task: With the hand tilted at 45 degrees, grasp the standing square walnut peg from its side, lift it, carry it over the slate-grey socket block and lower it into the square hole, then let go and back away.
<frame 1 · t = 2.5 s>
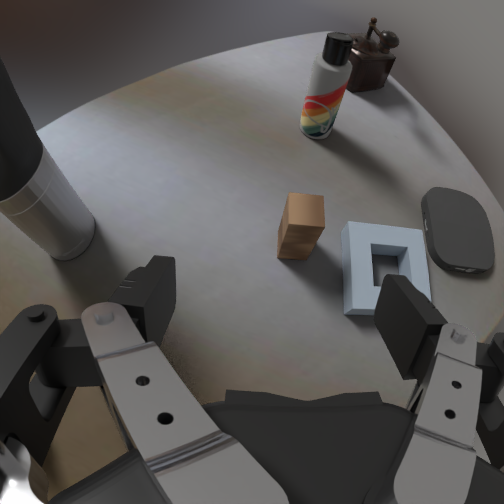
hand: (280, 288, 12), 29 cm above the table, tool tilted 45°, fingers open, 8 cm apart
lotion bottle: (314, 129, 53), on the table
socket: (381, 274, 43), on the table
manual coffee grinder: (359, 84, 60), on the table
media streaming box: (455, 233, 47), on the table
peg: (292, 245, 44), on the table
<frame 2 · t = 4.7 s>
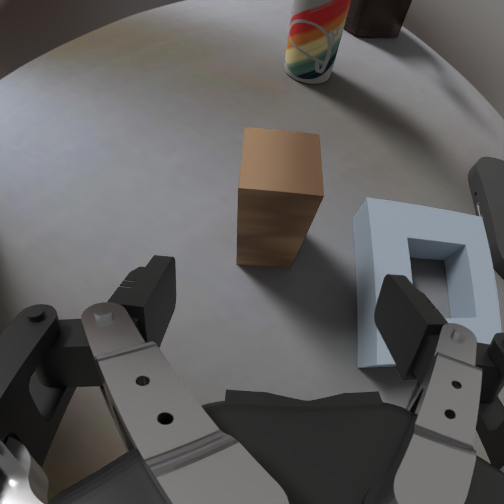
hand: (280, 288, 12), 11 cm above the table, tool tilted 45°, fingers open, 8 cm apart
lotion bottle: (306, 72, 34), on the table
socket: (421, 291, 24), on the table
manual coffee grinder: (367, 31, 41), on the table
peg: (264, 241, 25), on the table
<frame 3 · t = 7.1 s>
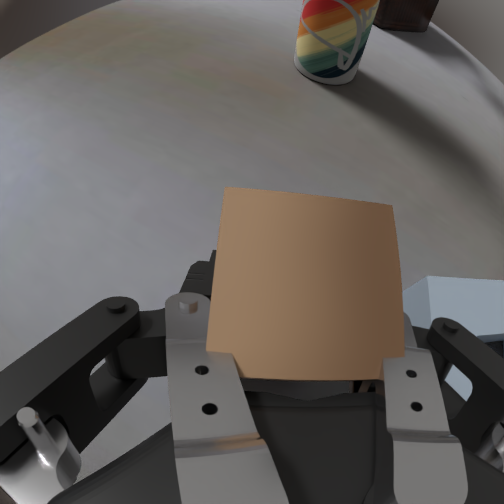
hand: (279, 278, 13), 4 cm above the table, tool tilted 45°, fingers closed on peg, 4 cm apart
lotion bottle: (323, 69, 25), on the table
socket: (474, 389, 15), on the table
manual coffee grinder: (390, 22, 32), on the table
peg: (267, 340, 16), on the table, touching gripper
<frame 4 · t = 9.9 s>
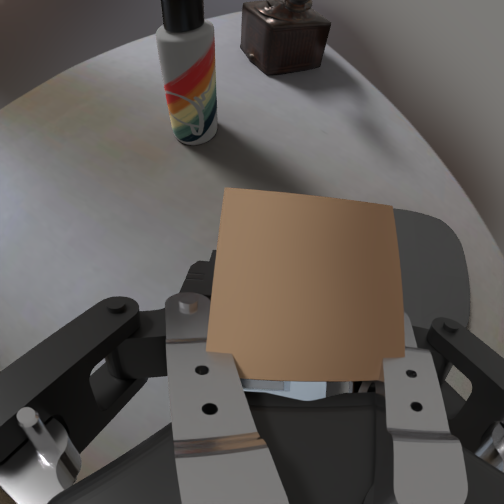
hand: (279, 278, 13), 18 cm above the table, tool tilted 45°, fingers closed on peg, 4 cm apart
lotion bottle: (195, 130, 38), on the table
socket: (252, 356, 28), on the table
manual coffee grinder: (285, 64, 45), on the table
media streaming box: (405, 281, 32), on the table
peg: (267, 340, 16), point 14 cm above the table, touching gripper
when the fingers open (5 cm above the table, at t = 13.1 s): peg stays where it is, resting in socket.
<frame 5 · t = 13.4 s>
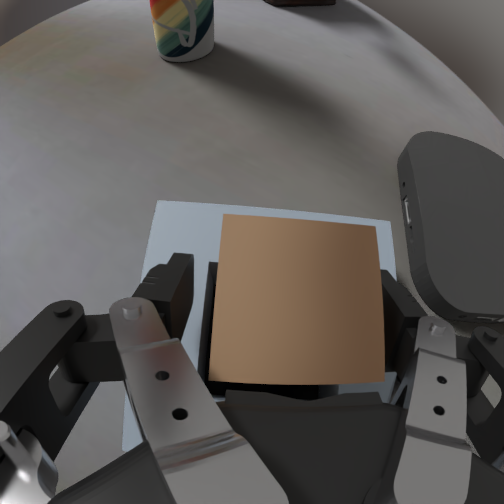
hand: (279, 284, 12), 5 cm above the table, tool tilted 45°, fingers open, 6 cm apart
lotion bottle: (186, 50, 27), on the table
socket: (265, 342, 16), on the table
manual coffee grinder: (295, 0, 34), on the table
media streaming box: (474, 233, 21), on the table
peg: (264, 344, 16), resting in socket
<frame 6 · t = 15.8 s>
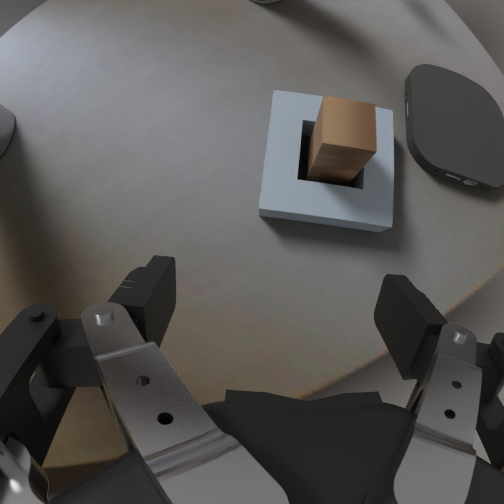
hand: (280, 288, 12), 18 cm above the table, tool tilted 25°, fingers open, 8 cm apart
socket: (326, 165, 31), on the table
media streaming box: (454, 129, 31), on the table
peg: (326, 166, 31), resting in socket
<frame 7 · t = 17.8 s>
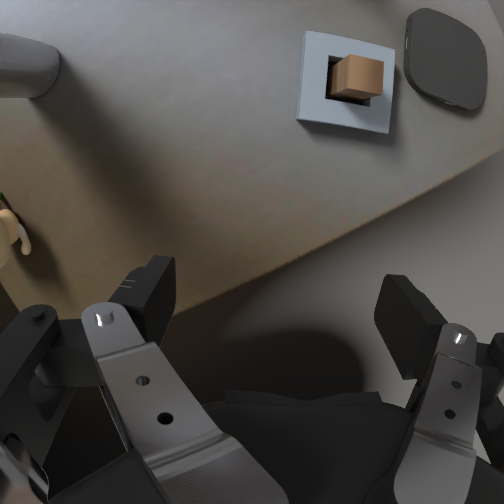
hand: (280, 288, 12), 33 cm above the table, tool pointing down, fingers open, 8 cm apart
socket: (342, 84, 38), on the table
kitten: (11, 222, 46), on the table
media streaming box: (443, 60, 35), on the table
peg: (342, 84, 38), resting in socket
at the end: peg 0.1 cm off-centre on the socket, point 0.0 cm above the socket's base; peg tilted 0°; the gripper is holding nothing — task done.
